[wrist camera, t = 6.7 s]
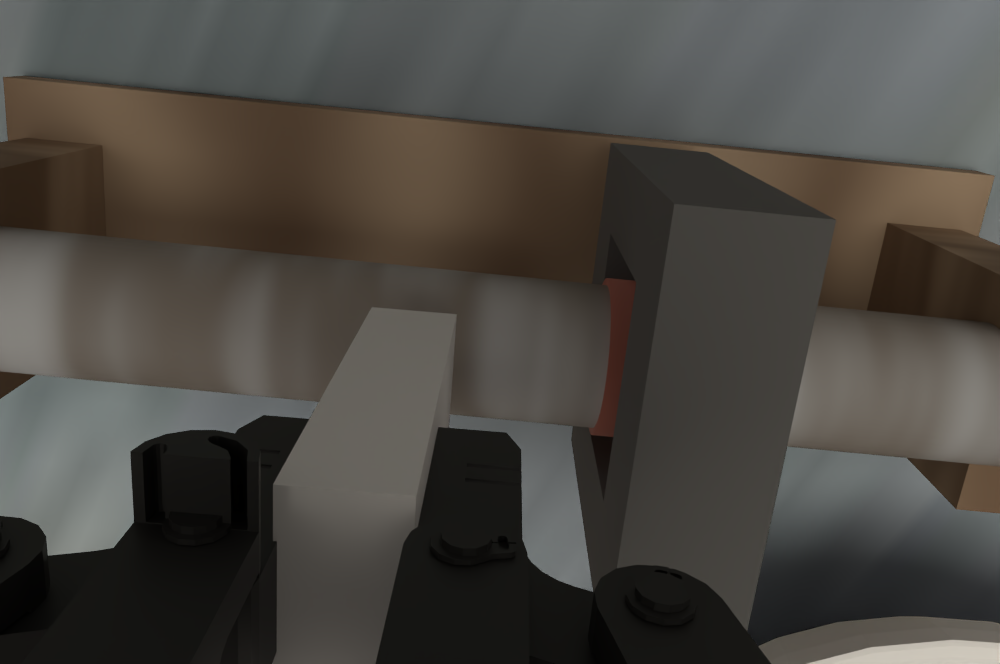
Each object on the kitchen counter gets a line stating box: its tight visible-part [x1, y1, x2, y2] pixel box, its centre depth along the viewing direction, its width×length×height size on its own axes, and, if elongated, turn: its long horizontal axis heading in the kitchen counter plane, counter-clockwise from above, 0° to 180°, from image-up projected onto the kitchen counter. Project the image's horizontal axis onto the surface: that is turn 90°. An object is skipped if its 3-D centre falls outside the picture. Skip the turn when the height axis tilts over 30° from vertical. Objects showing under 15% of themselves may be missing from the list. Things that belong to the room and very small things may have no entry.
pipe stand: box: [0, 76, 1000, 513], centre depth 21 cm, size 26×8×9 cm, turn 84°
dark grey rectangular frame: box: [571, 143, 836, 631], centre depth 18 cm, size 2×8×9 cm, turn 175°
